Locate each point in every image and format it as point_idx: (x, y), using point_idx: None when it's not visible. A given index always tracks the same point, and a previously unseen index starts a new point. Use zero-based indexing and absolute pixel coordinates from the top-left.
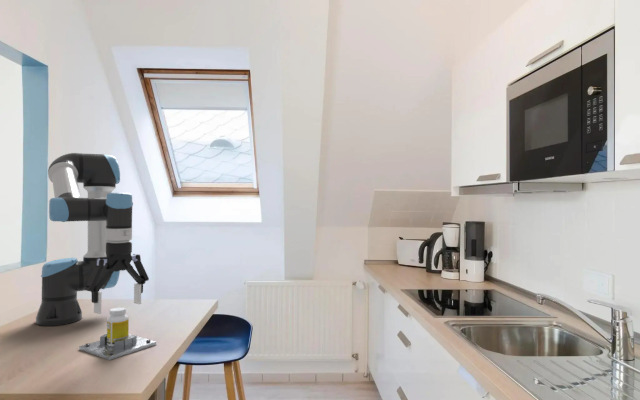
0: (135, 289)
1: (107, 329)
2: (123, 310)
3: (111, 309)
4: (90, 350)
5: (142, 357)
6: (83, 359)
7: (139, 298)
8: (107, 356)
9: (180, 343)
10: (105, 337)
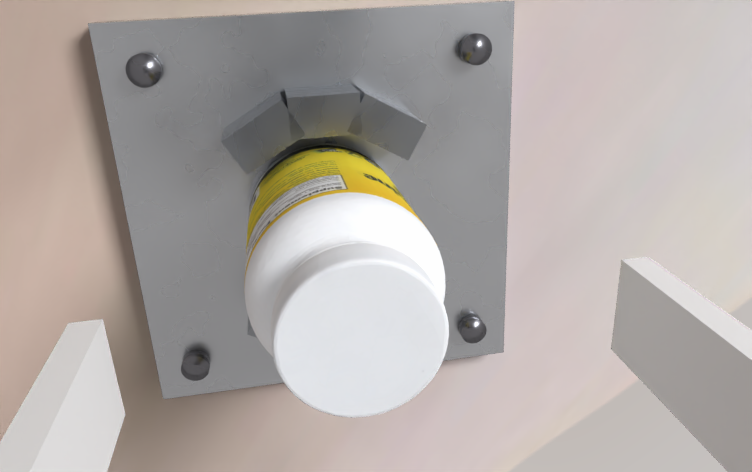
0: (740, 389)
1: (247, 246)
2: (382, 411)
3: (310, 298)
4: (121, 190)
5: (320, 466)
6: (46, 259)
7: (654, 391)
8: (160, 382)
9: (584, 415)
10: (256, 166)
